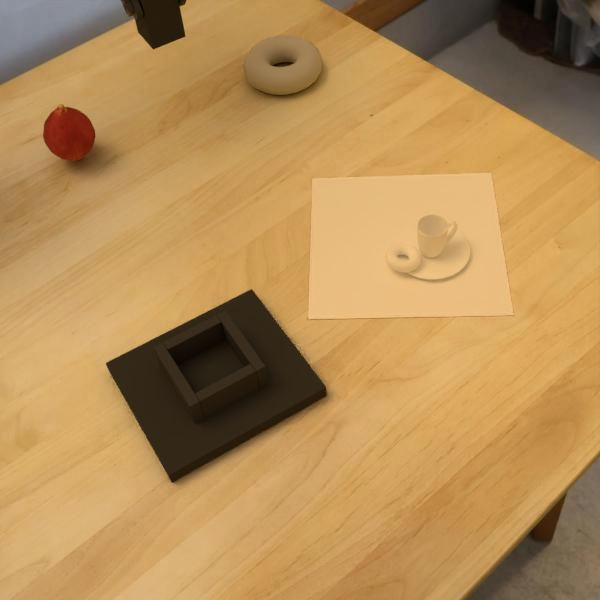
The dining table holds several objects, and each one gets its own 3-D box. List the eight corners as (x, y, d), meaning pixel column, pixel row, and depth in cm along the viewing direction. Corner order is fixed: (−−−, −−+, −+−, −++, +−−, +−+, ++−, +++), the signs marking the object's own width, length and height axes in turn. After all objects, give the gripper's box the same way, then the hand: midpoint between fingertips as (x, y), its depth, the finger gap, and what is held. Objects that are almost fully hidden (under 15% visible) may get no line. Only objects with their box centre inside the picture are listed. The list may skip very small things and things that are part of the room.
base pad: (172, 483, 74) (161, 458, 71) (109, 371, 82) (97, 344, 79) (327, 395, 79) (324, 368, 75) (253, 297, 87) (248, 269, 83)
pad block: (153, 49, 93) (137, -18, 86) (137, 32, 95) (121, -35, 89) (185, 36, 94) (172, -31, 88) (170, 19, 96) (156, -47, 90)
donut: (339, 76, 108) (289, 41, 113) (338, 53, 105) (287, 19, 110) (277, 112, 105) (229, 74, 110) (275, 89, 102) (225, 52, 107)
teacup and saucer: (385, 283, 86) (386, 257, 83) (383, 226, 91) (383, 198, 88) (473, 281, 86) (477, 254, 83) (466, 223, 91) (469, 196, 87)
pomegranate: (45, 170, 101) (23, 117, 95) (68, 138, 104) (48, 85, 98) (88, 179, 99) (69, 125, 93) (110, 146, 103) (93, 92, 96)
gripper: (29, -150, 82) (98, 22, 85) (166, -187, 86) (229, -21, 88) (31, -117, 90) (95, 41, 92) (158, -152, 93) (217, 1, 95)
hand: (161, 10), depth 90 cm, fingers closed on pad block, 4 cm apart
